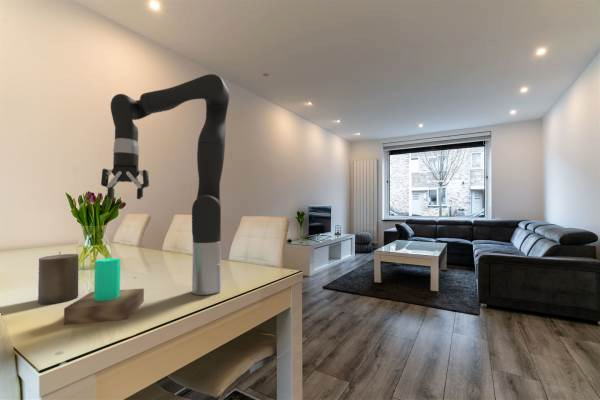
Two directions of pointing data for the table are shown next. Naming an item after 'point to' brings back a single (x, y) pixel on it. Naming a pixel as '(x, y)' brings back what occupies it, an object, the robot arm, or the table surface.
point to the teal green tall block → (107, 279)
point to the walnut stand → (103, 307)
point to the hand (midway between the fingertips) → (125, 199)
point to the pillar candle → (58, 278)
